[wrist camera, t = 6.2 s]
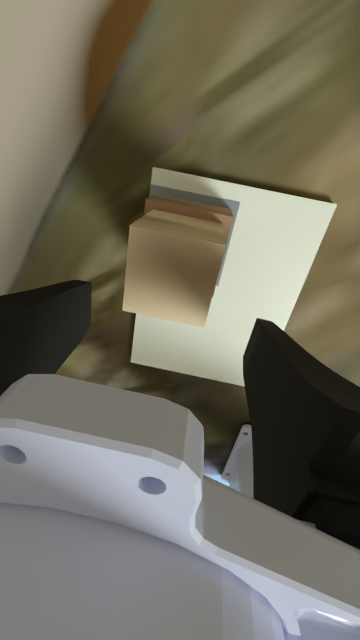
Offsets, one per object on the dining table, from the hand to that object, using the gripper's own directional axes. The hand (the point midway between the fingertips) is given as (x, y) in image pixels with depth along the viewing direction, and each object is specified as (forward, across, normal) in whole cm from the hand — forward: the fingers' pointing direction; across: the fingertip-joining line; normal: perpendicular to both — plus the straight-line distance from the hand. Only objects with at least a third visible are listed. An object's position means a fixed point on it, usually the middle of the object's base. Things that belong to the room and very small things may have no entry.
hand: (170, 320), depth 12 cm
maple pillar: (+6, 0, -1) cm, 6 cm away
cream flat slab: (+10, -3, +3) cm, 11 cm away
